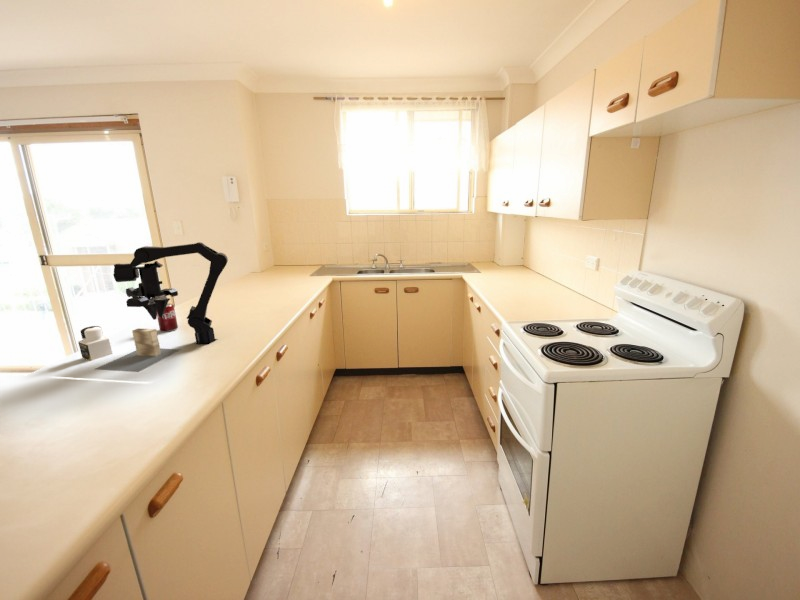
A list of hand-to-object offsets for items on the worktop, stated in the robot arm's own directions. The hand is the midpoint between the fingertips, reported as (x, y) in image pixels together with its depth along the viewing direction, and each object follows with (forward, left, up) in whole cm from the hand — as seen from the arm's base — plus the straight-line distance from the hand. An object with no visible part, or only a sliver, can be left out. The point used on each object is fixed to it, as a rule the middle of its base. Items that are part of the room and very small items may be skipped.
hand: (157, 318), depth 140 cm
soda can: (+17, -22, -13) cm, 31 cm away
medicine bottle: (+20, +10, -13) cm, 26 cm away
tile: (0, +7, -12) cm, 14 cm away
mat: (0, +11, -13) cm, 17 cm away
